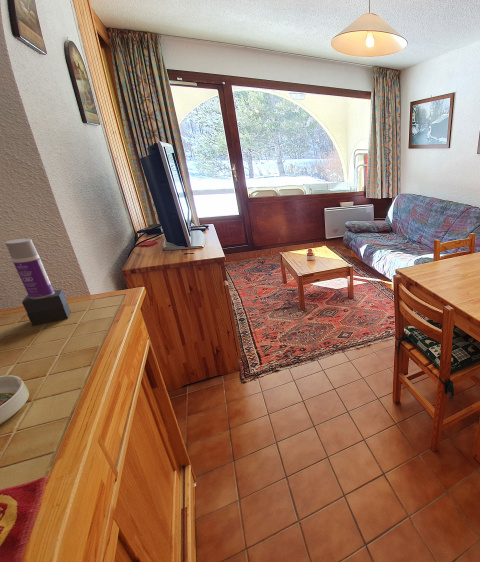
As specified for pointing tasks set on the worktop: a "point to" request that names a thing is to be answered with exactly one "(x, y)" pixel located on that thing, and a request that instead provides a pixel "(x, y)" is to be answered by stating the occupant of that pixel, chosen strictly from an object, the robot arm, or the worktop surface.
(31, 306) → the dark grey block
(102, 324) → the worktop surface
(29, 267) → the container
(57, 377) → the worktop surface
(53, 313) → the black pad
